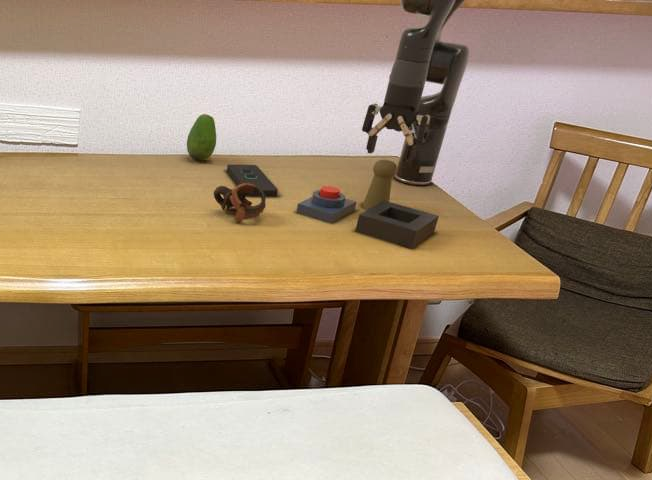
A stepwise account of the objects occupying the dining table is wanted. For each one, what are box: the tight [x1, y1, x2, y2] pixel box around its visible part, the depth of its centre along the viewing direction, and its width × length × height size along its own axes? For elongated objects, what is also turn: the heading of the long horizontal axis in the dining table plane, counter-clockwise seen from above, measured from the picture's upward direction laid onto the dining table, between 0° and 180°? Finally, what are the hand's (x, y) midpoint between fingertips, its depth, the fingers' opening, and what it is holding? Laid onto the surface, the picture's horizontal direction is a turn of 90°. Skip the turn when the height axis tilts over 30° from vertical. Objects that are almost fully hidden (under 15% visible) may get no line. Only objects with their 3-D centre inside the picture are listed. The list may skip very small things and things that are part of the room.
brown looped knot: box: [213, 183, 267, 224], centre depth 168 cm, size 12×10×8 cm
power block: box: [295, 189, 357, 224], centre depth 174 cm, size 12×9×4 cm
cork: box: [362, 159, 398, 210], centre depth 177 cm, size 6×6×11 cm
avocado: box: [186, 113, 217, 162], centre depth 200 cm, size 8×8×12 cm
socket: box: [354, 201, 440, 249], centre depth 166 cm, size 13×13×4 cm
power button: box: [319, 185, 341, 199], centre depth 173 cm, size 4×4×2 cm
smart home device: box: [226, 163, 279, 198], centre depth 189 cm, size 8×2×20 cm
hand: (387, 156), depth 173 cm, fingers open, 8 cm apart
